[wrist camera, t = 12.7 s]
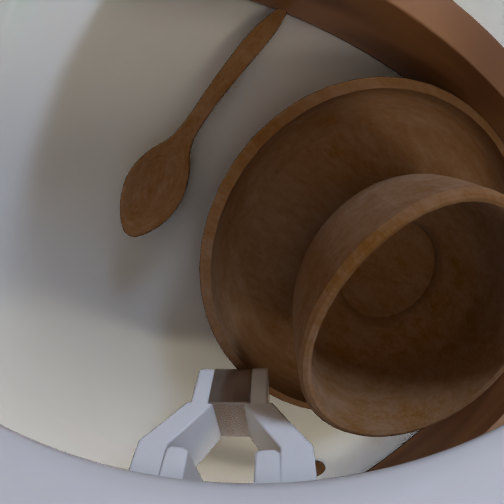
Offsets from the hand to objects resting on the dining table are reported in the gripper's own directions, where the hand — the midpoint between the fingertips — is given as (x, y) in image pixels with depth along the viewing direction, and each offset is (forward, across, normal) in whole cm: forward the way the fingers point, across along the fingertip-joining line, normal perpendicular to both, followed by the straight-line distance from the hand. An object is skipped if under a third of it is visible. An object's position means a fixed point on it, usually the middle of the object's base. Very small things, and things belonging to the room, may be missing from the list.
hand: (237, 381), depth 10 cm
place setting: (+2, -3, 0) cm, 4 cm away
